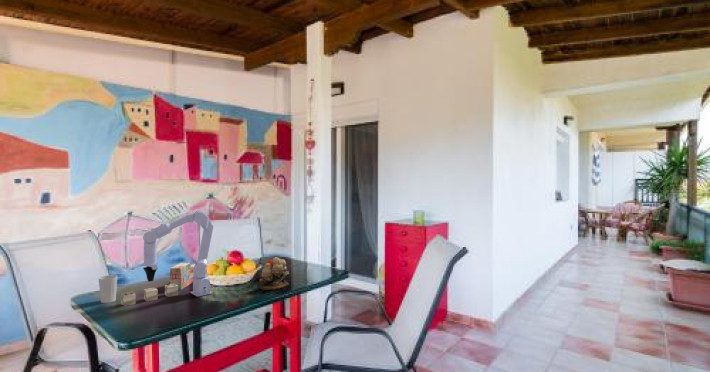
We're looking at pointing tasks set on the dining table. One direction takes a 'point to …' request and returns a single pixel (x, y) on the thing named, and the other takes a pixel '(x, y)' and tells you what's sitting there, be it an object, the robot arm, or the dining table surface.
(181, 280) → the stack of blocks
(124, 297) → the dotted block
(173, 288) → the dotted block
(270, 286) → the brown lumpy figurine
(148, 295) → the plain block
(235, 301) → the dining table surface
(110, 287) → the cup
